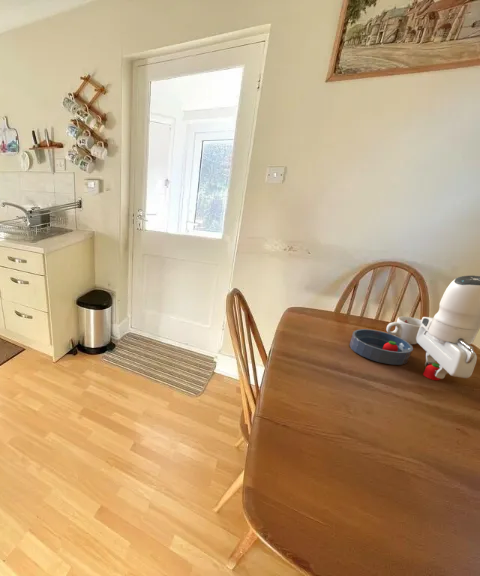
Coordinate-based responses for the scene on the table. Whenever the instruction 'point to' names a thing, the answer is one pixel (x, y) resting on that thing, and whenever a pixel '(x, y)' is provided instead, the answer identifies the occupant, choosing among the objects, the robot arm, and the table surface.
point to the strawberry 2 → (431, 371)
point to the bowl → (380, 346)
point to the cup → (405, 328)
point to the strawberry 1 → (390, 346)
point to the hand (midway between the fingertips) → (433, 371)
